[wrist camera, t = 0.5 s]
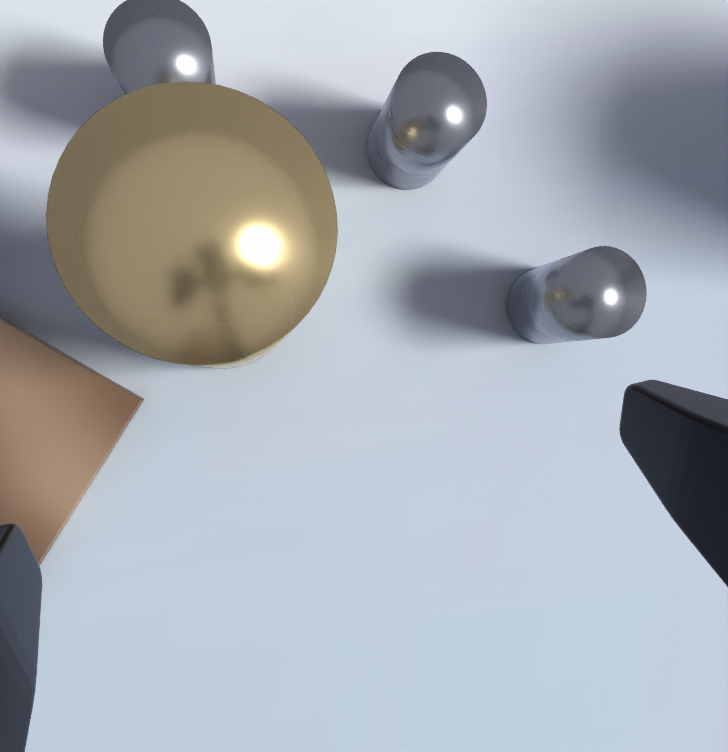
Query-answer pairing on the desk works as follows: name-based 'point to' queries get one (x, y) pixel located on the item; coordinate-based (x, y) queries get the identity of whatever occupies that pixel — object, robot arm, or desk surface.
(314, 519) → the desk surface
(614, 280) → the spacer posts
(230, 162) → the gold metal cylinder
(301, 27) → the desk surface
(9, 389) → the pad
